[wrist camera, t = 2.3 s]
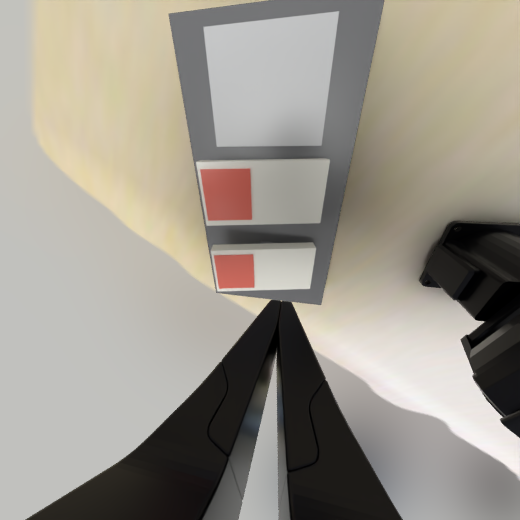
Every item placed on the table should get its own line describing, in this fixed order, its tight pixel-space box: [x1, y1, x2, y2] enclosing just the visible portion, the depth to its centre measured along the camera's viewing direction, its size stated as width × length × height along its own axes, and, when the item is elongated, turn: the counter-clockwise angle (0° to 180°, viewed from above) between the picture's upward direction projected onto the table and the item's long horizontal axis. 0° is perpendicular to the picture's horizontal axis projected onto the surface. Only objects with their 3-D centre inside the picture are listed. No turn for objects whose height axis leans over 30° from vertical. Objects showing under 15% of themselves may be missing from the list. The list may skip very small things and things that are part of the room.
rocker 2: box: [211, 242, 316, 291], centre depth 16 cm, size 8×4×1 cm, turn 91°
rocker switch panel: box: [169, 0, 384, 305], centre depth 16 cm, size 11×20×4 cm, turn 1°
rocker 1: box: [196, 158, 330, 226], centre depth 13 cm, size 8×4×1 cm, turn 91°
